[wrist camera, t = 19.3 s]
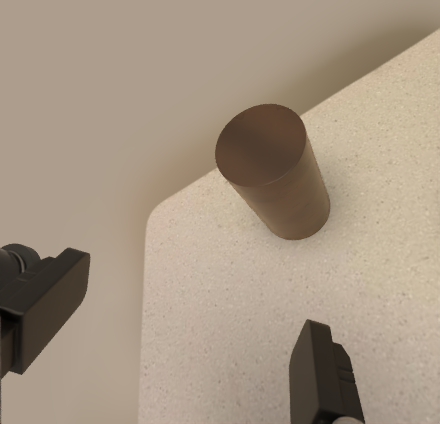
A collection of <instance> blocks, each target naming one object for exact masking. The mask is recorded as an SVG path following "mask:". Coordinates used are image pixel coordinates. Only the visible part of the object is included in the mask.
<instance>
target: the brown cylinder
mask: <svg viewBox="0 0 440 424" xmlns="http://www.w3.org/2000/svg"><path fill="white" fill-rule="evenodd" d="M215 157H216V163H217V166H218V169H219V171H220V172H221V174H222V175H223V176H224V177H225V178H226V180H227V181H228V182H229V183H230V184H231V185H232V186H233V188H234V189H235V190H236V191H237V192H238V193H239V195H240V196H241V197H242V198H243V199H244V200H245V201H246V203H247V204H248V205H249V206H250V207H251V208H252V210H253V211H254V212H255V213H256V214H257V215H258V217H259V218H260V219H261V220H262V221H263V222H264V223H265V225H266V226H267V227H268V228H269V229H270V230H271V231H272V232H273V233H274V234H275V235H277V236H279V237H281V238H284V239H289V240H299V239H304V238H307V237H309V236H311V235H313V234H314V233H316V232H317V231H318V230H320V229H321V227H322V226H323V225H324V224H325V222H326V220H327V218H328V215H329V212H330V200H329V196H328V193H327V191H326V188H325V185H324V182H323V179H322V176H321V173H320V170H319V167H318V164H317V161H316V158H315V155H314V152H313V149H312V147H311V144H310V141H309V138H308V135H307V132H306V129H305V126H304V124H303V122H302V120H301V118H300V117H299V116H298V115H297V114H296V113H295V112H293V111H292V110H291V109H289V108H287V107H284V106H281V105H277V104H263V105H258V106H254V107H251V108H249V109H247V110H245V111H243V112H241V113H240V114H238V115H237V116H235V117H234V118H233V119H232V120H231V121H230V122H229V123H228V124H227V125H226V126H225V128H224V129H223V131H222V132H221V134H220V136H219V138H218V141H217V145H216V150H215Z"/></svg>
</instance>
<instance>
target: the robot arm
mask: <svg viewBox="0 0 440 424" xmlns="http://www.w3.org/2000/svg"><path fill="white" fill-rule="evenodd" d="M89 267H90V254H89V253H86V252H82V251H79V250H76V249H72V248H67V249H65V250H64V251H63V252H62V253H61V254H60V255H58V256H57V257H56V258H53V257H47V258H45V259H42V260H39V261H37V262H35V263H33V264H32V265H31V266H30V267H28V268H27V269H26V264H25V261H24V259H23V257H22V256H21V255H20V254H18V253H16V252H13V251H8V250H5V249H1V248H0V424H1V379H2V378H3V377H4V376H5V375H6V374H7V372H8V371H11V372H14V373H18V374H21V375H22V374H23V373H24V372H25V371H26V369H27V368H28V367H29V366H30V365H31V363H32V362H33V361H34V360H35V358H36V357H37V356H38V355H39V354H40V353H41V351H42V350H43V349H44V347H46V345H47V344H48V343H49V342H50V341H51V339H52V338H53V337H54V336H55V334H56V333H57V332H58V331H59V330H60V328H61V327H62V326H63V325H64V324H65V322H66V321H67V320H68V319H69V318H70V316H71V315H72V314H73V313H74V312H75V310H76V309H77V308H78V307H79V305H80V304H81V303H82V301H83V299H84V297H85V294H86V291H87V284H88V275H89ZM352 372H353V369H352V365H351V361H350V357H349V356H348V354H347V353H346V351H345V350H344V348H343V347H342V345H341V344H337V343H334V342H333V341H332V336H331V330H330V327H329V325H326V324H322V323H319V322H316V321H312V320H309V319H307V320H306V322H305V324H304V326H303V328H302V331H301V333H300V335H299V338H298V340H297V342H296V345H295V347H294V349H293V352H292V355H291V359H290V364H289V384H290V419H291V424H365V420H364V416H363V412H362V407H361V403H360V399H359V395H358V390H357V386H356V384H355V378H354V373H352Z"/></svg>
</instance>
